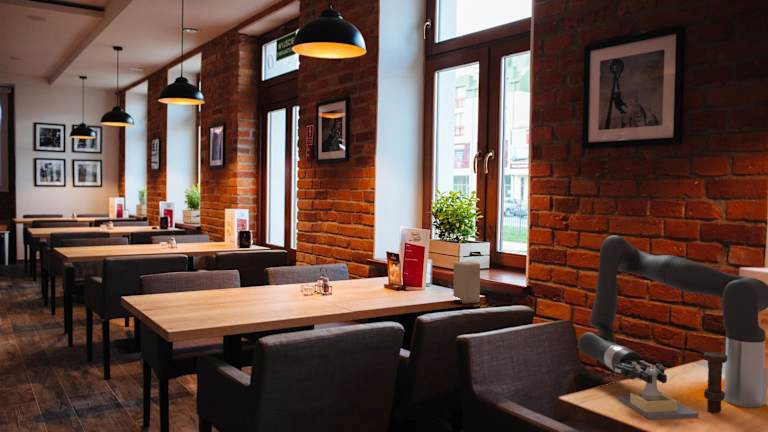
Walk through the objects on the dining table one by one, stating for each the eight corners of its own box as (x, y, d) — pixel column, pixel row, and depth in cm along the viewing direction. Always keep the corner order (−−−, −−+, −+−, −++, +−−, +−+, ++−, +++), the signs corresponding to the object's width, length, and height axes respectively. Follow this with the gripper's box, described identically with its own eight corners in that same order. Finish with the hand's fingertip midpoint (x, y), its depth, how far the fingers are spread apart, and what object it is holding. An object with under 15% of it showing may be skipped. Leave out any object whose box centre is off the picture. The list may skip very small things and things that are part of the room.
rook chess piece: (637, 397, 169) (638, 367, 169) (651, 395, 171) (652, 365, 170) (650, 402, 165) (651, 371, 165) (664, 400, 167) (665, 370, 166)
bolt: (730, 414, 164) (732, 355, 164) (716, 416, 163) (717, 357, 162) (711, 407, 170) (713, 350, 169) (697, 409, 168) (698, 352, 167)
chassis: (663, 398, 177) (663, 385, 177) (698, 417, 162) (698, 403, 162) (619, 400, 175) (619, 387, 175) (649, 419, 160) (650, 405, 160)
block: (480, 302, 326) (481, 263, 325) (464, 304, 321) (465, 264, 320) (468, 299, 335) (468, 261, 334) (452, 301, 330) (453, 262, 329)
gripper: (600, 348, 180) (632, 365, 163) (647, 347, 182) (684, 364, 165) (599, 375, 181) (631, 395, 164) (646, 373, 183) (683, 393, 166)
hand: (658, 379), depth 165 cm, fingers closed on rook chess piece, 3 cm apart
